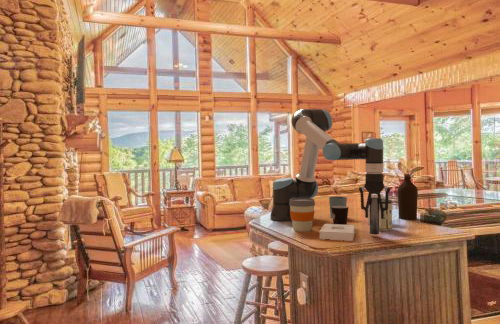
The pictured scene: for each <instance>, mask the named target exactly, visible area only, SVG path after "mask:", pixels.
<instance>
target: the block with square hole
mask: <svg viewBox="0 0 500 324" xmlns="http://www.w3.org/2000/svg"><path fill="white" fill-rule="evenodd" d="M355 230H356V225H355V224H347V225H341V224H333V223H324V224H323V225H322V226H321V229H320V230H319V240H325V239H330V240H331V241H343V240H344V241H345V242H347V241H348V242H353V241H354V238H355V233H356V231H355ZM330 240H329V241H330ZM344 241H343V242H344Z"/></svg>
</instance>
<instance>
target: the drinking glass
mask: <svg viewBox="0 0 500 324" xmlns="http://www.w3.org/2000/svg"><path fill="white" fill-rule="evenodd" d="M328 200H329V212H330V213H329V215H330V218H331V219H333V217H332V209H331V207H332V206H347V202H348V201H347V200H348V197H347V196H329V197H328Z"/></svg>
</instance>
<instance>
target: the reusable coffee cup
mask: <svg viewBox="0 0 500 324" xmlns="http://www.w3.org/2000/svg"><path fill="white" fill-rule="evenodd" d="M289 205H290V209H291V210H290V215H291V222H292V223H291V224H292V229H293V231H295V232H303V231H304V232H311V231H312V229H313V227H312V226H313V221H314V218H315V206H316V203H315V199H314V198H293V199H290V203H289Z"/></svg>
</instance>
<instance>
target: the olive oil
mask: <svg viewBox="0 0 500 324" xmlns="http://www.w3.org/2000/svg"><path fill="white" fill-rule="evenodd" d="M403 174H404V173H403ZM411 180H412V178H411V174H410V173H405V174H404V177H403V181H402V182H401V184H400V185H399V186H398V187H397V192H396V193H397V205H398V206H397V207H398V218H399V219H400V220H411V221H412V220H413V221H414V220H417V219H418V198H419V197H418V195H419V194H418V193H419V192H418V188H417V186H416V185H415V184H414V183H413V182H412V181H411Z"/></svg>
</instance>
